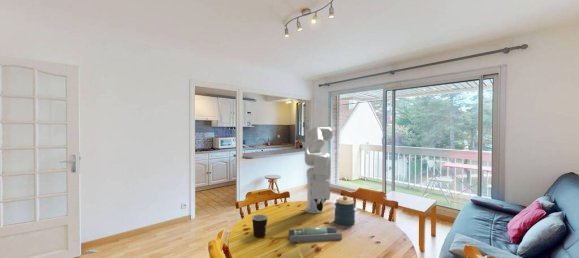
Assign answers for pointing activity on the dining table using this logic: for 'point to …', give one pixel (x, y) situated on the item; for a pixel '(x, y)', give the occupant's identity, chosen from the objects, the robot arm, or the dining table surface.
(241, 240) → the dining table surface
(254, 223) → the coffee mug
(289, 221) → the dining table surface
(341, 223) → the canister
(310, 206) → the robot arm
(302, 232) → the bottle
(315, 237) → the u rest
